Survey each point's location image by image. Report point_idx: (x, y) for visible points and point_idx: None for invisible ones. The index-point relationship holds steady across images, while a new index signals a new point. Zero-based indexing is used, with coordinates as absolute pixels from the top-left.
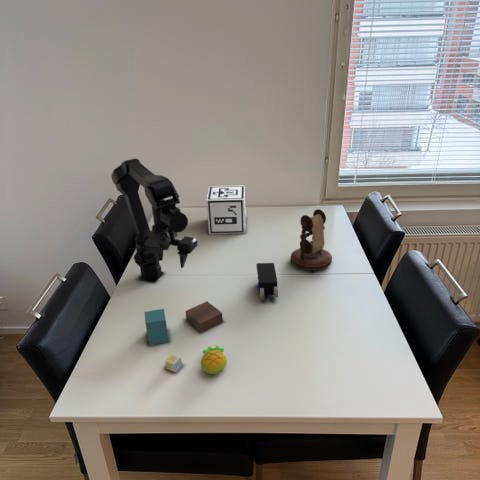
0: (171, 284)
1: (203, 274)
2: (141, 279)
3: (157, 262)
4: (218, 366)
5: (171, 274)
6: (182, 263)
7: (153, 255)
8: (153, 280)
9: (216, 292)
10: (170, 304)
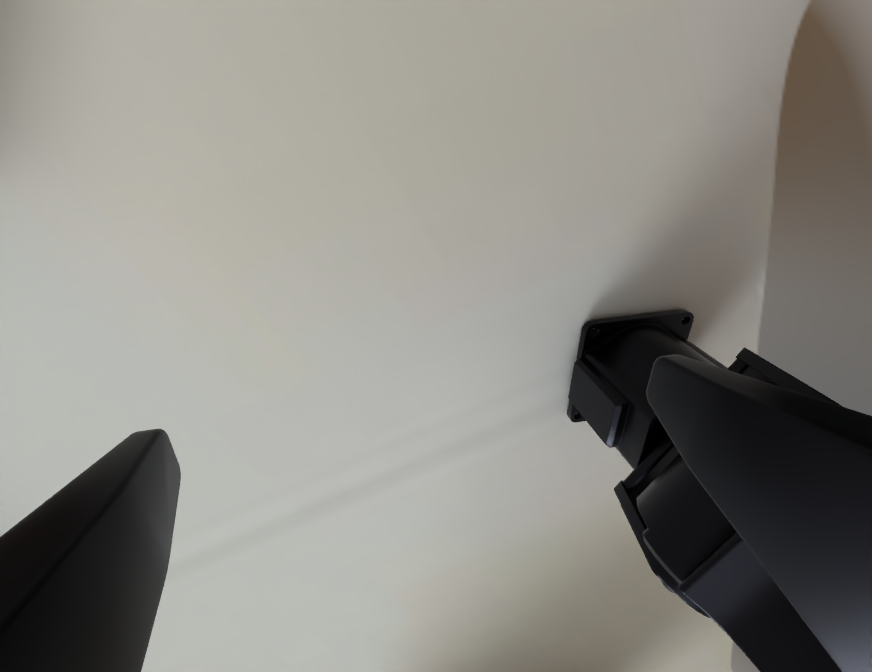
0: (469, 350)
1: (335, 506)
2: (673, 311)
3: (653, 382)
4: None
5: (518, 428)
6: (11, 534)
7: (849, 441)
8: (597, 331)
9: (104, 407)
10: (338, 126)
